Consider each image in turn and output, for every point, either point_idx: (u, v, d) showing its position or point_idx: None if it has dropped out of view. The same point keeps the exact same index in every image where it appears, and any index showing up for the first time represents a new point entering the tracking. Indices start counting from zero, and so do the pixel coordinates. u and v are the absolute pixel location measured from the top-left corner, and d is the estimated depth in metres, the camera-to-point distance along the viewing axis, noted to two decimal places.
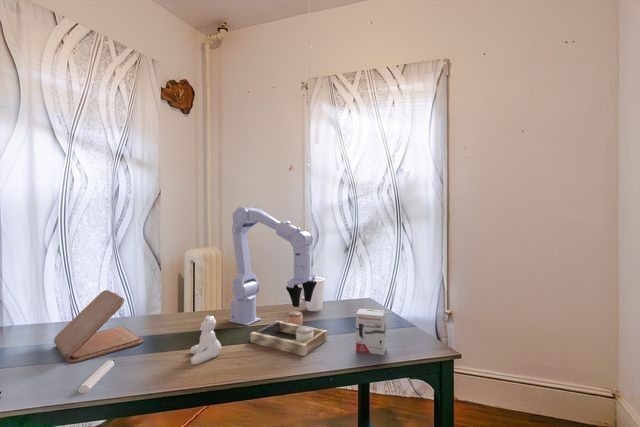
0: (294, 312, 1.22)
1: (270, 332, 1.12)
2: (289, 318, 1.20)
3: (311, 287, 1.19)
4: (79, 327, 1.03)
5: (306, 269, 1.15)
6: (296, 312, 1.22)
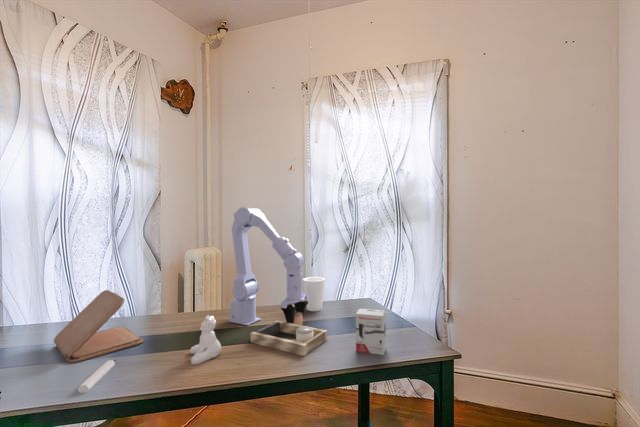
0: None
1: (270, 332, 1.12)
2: None
3: (303, 307, 1.23)
4: (79, 327, 1.03)
5: (299, 290, 1.19)
6: (296, 312, 1.22)
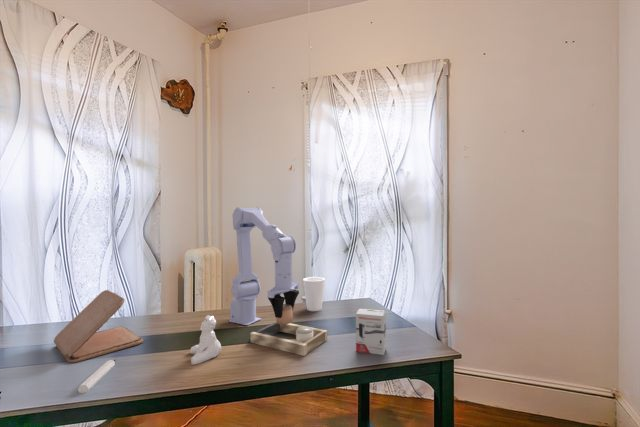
0: (283, 305, 1.10)
1: (270, 332, 1.12)
2: None
3: (293, 297, 1.11)
4: (79, 327, 1.03)
5: (288, 277, 1.07)
6: (285, 305, 1.10)
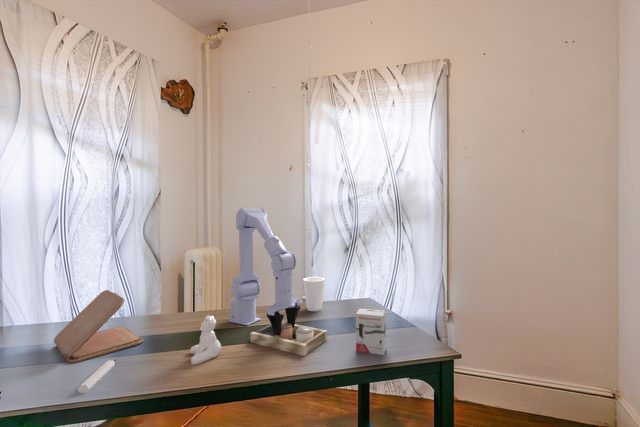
0: (283, 324, 1.10)
1: (270, 332, 1.12)
2: None
3: (294, 312, 1.12)
4: (79, 327, 1.03)
5: (288, 294, 1.07)
6: (286, 324, 1.10)
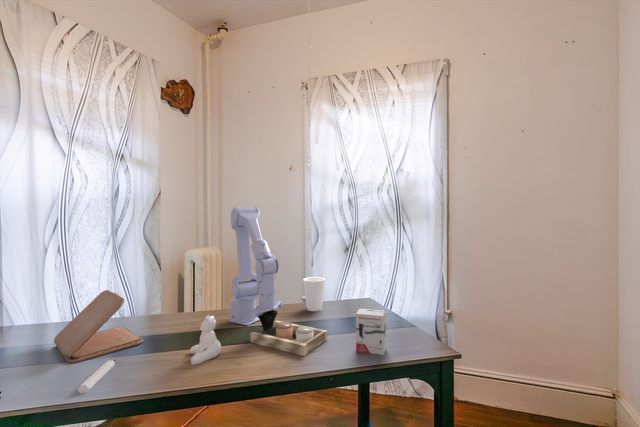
0: (283, 323, 1.10)
1: (274, 333, 1.11)
2: (277, 330, 1.07)
3: None
4: (80, 327, 1.03)
5: (271, 297, 1.10)
6: (286, 323, 1.10)
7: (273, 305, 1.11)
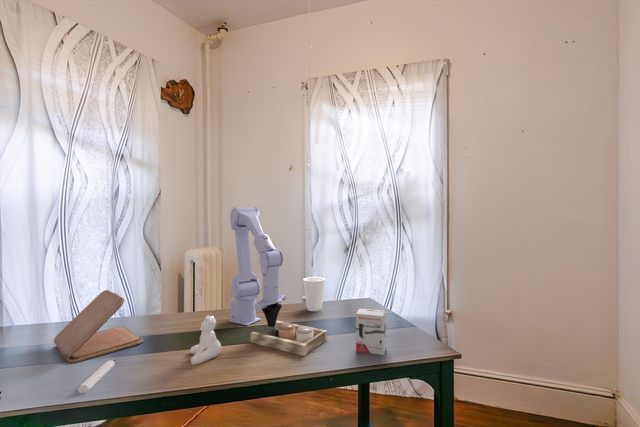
0: (286, 324, 1.09)
1: None
2: (280, 331, 1.06)
3: None
4: (79, 327, 1.03)
5: (275, 290, 1.10)
6: (288, 324, 1.09)
7: (277, 298, 1.10)
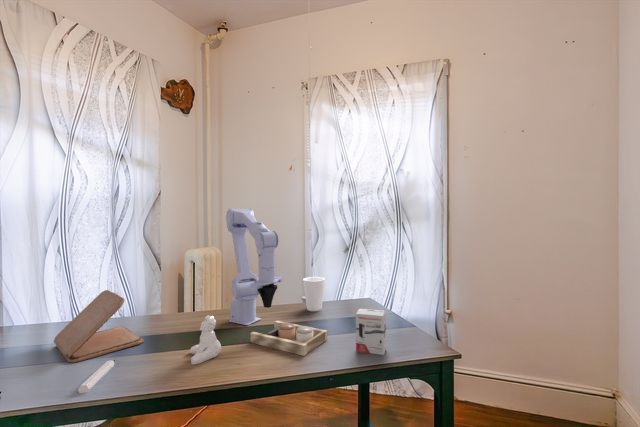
0: (286, 324, 1.09)
1: None
2: (280, 331, 1.06)
3: None
4: (80, 327, 1.03)
5: (271, 271, 1.10)
6: (288, 324, 1.09)
7: (273, 279, 1.11)
